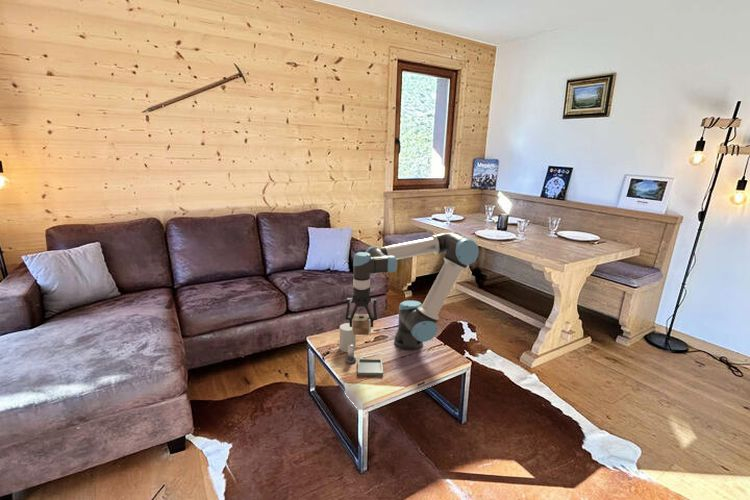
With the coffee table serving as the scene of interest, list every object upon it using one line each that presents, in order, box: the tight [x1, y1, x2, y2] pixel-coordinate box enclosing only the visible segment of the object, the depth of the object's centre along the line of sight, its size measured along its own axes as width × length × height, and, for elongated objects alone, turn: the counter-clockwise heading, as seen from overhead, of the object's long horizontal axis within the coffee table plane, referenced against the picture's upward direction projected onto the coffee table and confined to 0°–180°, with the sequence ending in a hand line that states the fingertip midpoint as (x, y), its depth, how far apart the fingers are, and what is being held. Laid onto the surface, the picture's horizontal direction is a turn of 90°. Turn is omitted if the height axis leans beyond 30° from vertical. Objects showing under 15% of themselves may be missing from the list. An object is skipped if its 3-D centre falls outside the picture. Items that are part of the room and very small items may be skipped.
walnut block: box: [353, 313, 370, 336], centre depth 173 cm, size 7×7×7 cm
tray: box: [357, 358, 384, 377], centre depth 176 cm, size 11×11×2 cm
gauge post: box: [345, 344, 357, 365], centre depth 181 cm, size 5×5×8 cm
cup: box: [339, 322, 357, 353], centre depth 192 cm, size 8×8×12 cm
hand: (361, 332), depth 174 cm, fingers closed on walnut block, 7 cm apart
